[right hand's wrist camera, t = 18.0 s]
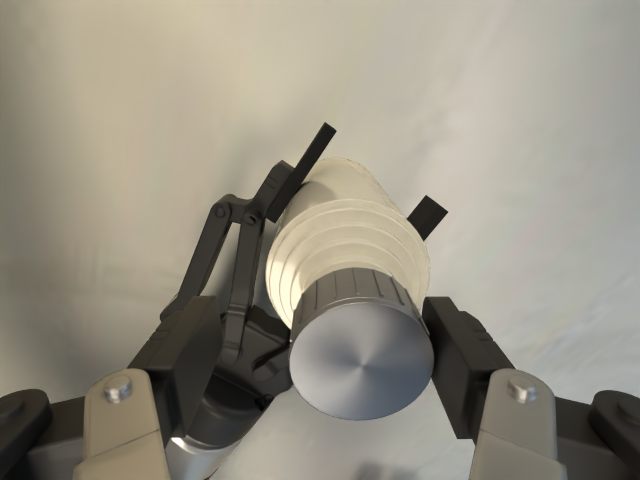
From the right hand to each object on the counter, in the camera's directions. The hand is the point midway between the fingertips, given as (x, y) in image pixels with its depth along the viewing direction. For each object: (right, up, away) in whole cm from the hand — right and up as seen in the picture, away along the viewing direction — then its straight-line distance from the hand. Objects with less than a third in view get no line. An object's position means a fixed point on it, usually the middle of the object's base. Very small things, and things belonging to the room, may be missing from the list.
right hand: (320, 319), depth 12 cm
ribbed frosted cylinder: (+1, +6, +17) cm, 18 cm away
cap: (+1, -1, -1) cm, 2 cm away
